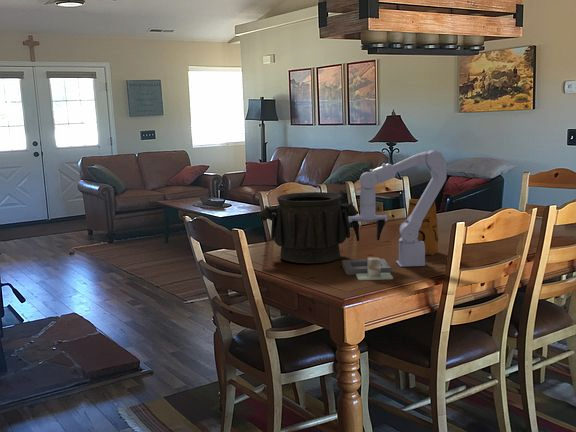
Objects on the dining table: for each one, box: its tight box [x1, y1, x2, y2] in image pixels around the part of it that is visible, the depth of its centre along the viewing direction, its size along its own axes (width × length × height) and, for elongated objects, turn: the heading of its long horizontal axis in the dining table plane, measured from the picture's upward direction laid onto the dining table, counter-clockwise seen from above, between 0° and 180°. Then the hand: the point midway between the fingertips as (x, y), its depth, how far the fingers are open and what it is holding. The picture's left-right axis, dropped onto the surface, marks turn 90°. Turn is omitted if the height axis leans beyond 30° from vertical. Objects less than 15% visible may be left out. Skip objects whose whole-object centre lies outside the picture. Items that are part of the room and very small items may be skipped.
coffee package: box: [406, 198, 439, 256], centre depth 257 cm, size 10×12×22 cm
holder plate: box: [341, 258, 392, 276], centre depth 235 cm, size 16×14×2 cm
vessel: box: [257, 191, 359, 264], centre depth 253 cm, size 31×32×25 cm
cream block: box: [367, 256, 381, 277], centre depth 223 cm, size 4×4×6 cm
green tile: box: [355, 272, 394, 281], centre depth 223 cm, size 12×7×1 cm, turn 93°
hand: (367, 240), depth 240 cm, fingers open, 7 cm apart
